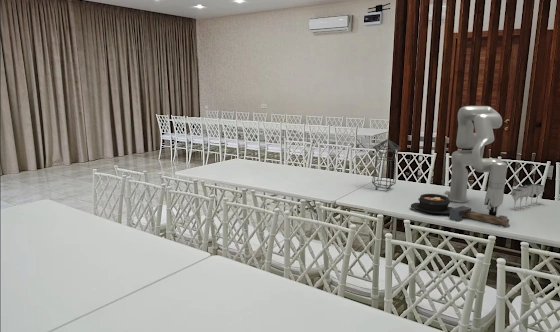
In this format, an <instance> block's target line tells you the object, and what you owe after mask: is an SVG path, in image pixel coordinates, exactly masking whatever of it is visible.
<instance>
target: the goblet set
mask: <svg viewBox="0 0 560 332" xmlns="http://www.w3.org/2000/svg"><path fill="white" fill-rule="evenodd" d="M544 192H545V187H544V185H542V184H539V183H536V184H535V183H531V184H524V185H518V186H517V188H513V189H511V197H512V199H513V201H514V206H513V207H512V208H509V210H510V211H514V212H518V211H519V210H523V211H524V210H525V209H529V208H530V207H532V206H534V207H535V206H540V205H539V204H540V203H538V197H540V195H541V194H543V193H544ZM530 195H531V199H530V200H531V201H530V204H525V205H522V200H523V199H524V197H525V203H527V201H528V198H529V196H530ZM534 195H536V202H533V197H534ZM519 199H520V203H519V206H516V202H517V201H518V200H519ZM537 203H538V204H537ZM533 204H536V205H533Z"/></svg>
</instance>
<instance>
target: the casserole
mask: <svg viewBox="0 0 560 332" xmlns="http://www.w3.org/2000/svg"><path fill="white" fill-rule="evenodd" d="M418 201H419V202H413V203H411V204H410V207H411V208H412V209H416V210H419V211H422V212H424V213H428V214H432V215H441V214H447V215H450V209H453V208H454V207H453V206H449V204H451V201H449V199H448V196H445V195H441V194H438V193H423V194H421V195H420V197H418Z"/></svg>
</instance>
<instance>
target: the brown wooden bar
mask: <svg viewBox="0 0 560 332" xmlns="http://www.w3.org/2000/svg"><path fill="white" fill-rule="evenodd" d="M462 217H464V218H469V219H473V220H477V221H482V222H487V223H491V224H494V223H495V224H500V225H504V226H506V225H507V224H509V223H510V219H509V218H508V216H506V215H498V216H497V215H496V216H492V215H489V214H487V213H481V212H477V211H473V210H471V211H469V212H465V213H462ZM495 224H494V225H495ZM509 225H510V224H509Z"/></svg>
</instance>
